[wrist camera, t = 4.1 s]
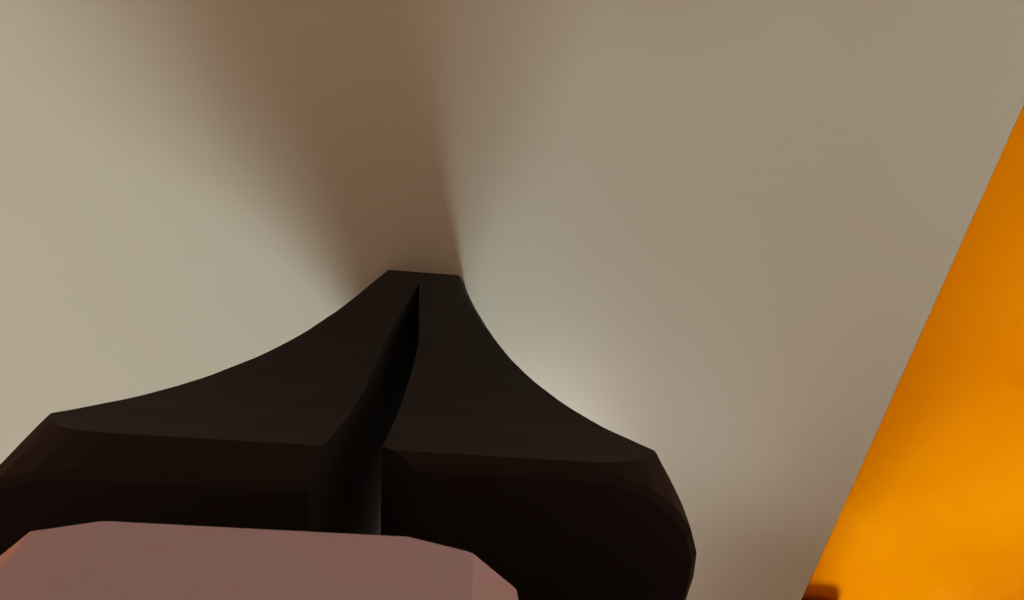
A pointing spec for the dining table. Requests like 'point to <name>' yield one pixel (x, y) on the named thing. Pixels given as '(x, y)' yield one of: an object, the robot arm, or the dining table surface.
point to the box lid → (516, 211)
